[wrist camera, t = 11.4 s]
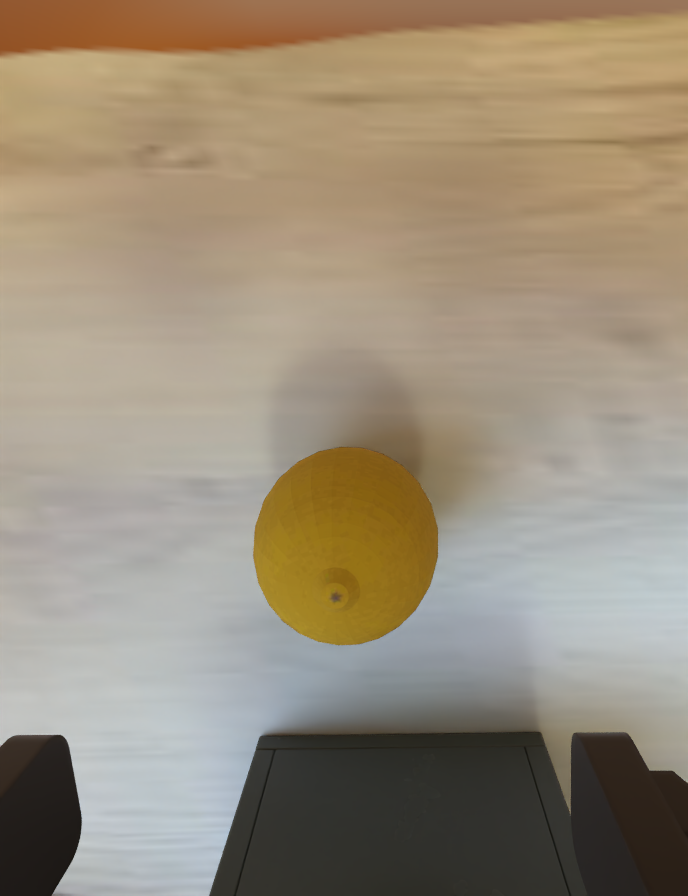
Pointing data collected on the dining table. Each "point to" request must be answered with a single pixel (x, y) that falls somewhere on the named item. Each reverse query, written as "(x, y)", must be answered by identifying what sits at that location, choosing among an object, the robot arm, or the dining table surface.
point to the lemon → (345, 546)
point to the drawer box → (401, 818)
